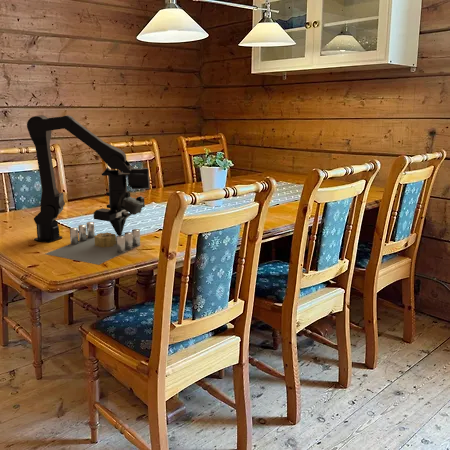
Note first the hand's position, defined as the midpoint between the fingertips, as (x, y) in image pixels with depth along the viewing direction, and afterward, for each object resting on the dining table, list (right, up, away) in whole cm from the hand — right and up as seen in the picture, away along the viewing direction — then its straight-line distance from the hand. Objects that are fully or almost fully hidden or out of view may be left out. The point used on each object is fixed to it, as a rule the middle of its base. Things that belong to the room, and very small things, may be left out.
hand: (119, 235), depth 163 cm
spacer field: (-3, -3, -6) cm, 8 cm away
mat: (-5, -4, -11) cm, 13 cm away
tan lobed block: (-3, -3, -6) cm, 8 cm away
